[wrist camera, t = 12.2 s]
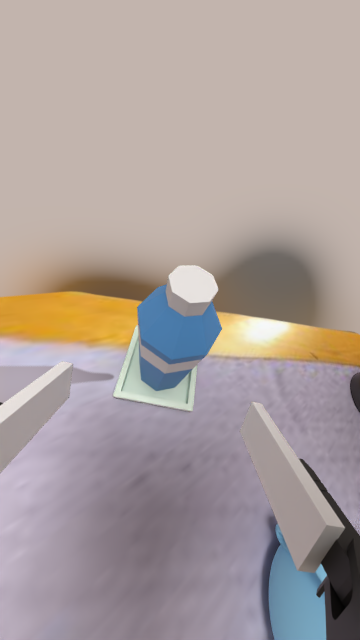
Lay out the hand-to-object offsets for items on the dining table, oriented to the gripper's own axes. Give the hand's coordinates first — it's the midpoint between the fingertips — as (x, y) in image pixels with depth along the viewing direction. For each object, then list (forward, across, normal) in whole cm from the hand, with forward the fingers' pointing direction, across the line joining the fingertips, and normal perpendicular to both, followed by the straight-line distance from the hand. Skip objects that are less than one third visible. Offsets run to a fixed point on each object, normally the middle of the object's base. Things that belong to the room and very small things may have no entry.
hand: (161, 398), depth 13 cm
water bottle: (+21, 0, -9) cm, 23 cm away
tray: (+22, 0, -10) cm, 24 cm away
